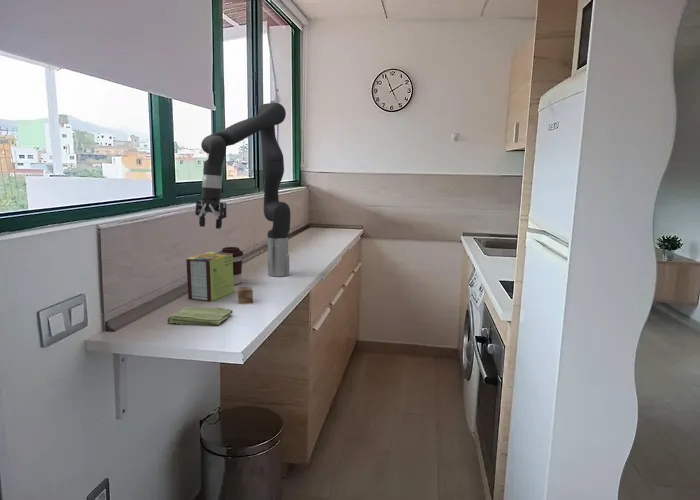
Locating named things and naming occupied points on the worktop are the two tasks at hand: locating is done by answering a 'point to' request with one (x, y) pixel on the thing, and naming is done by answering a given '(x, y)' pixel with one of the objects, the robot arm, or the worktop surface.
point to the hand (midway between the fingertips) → (210, 227)
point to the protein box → (210, 276)
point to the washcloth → (200, 316)
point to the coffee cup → (235, 262)
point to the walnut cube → (245, 295)
